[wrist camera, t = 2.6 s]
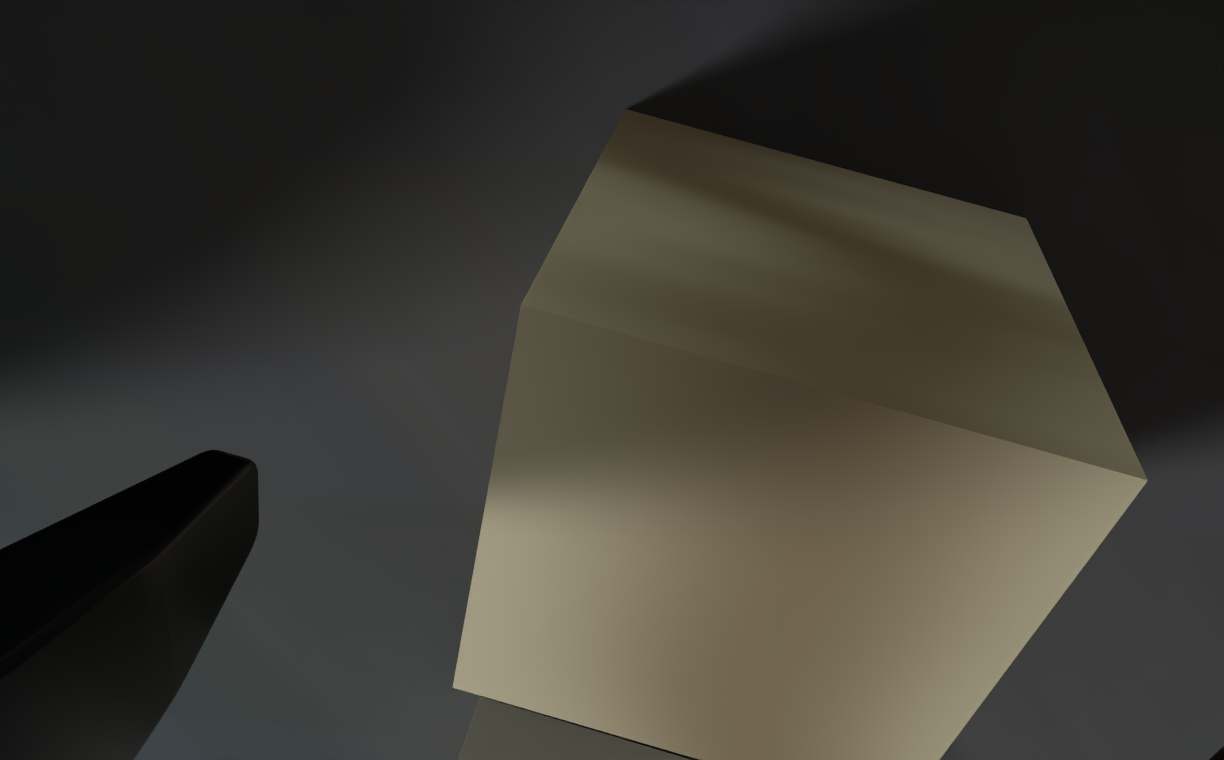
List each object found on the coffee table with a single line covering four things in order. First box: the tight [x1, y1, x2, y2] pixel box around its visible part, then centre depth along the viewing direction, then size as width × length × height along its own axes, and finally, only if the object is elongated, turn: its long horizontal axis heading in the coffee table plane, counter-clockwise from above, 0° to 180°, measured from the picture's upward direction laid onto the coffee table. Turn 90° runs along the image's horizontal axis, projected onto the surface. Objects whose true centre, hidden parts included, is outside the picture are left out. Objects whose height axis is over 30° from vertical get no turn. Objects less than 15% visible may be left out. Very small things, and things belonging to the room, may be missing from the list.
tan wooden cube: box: [453, 109, 1148, 760], centre depth 11 cm, size 5×5×5 cm
